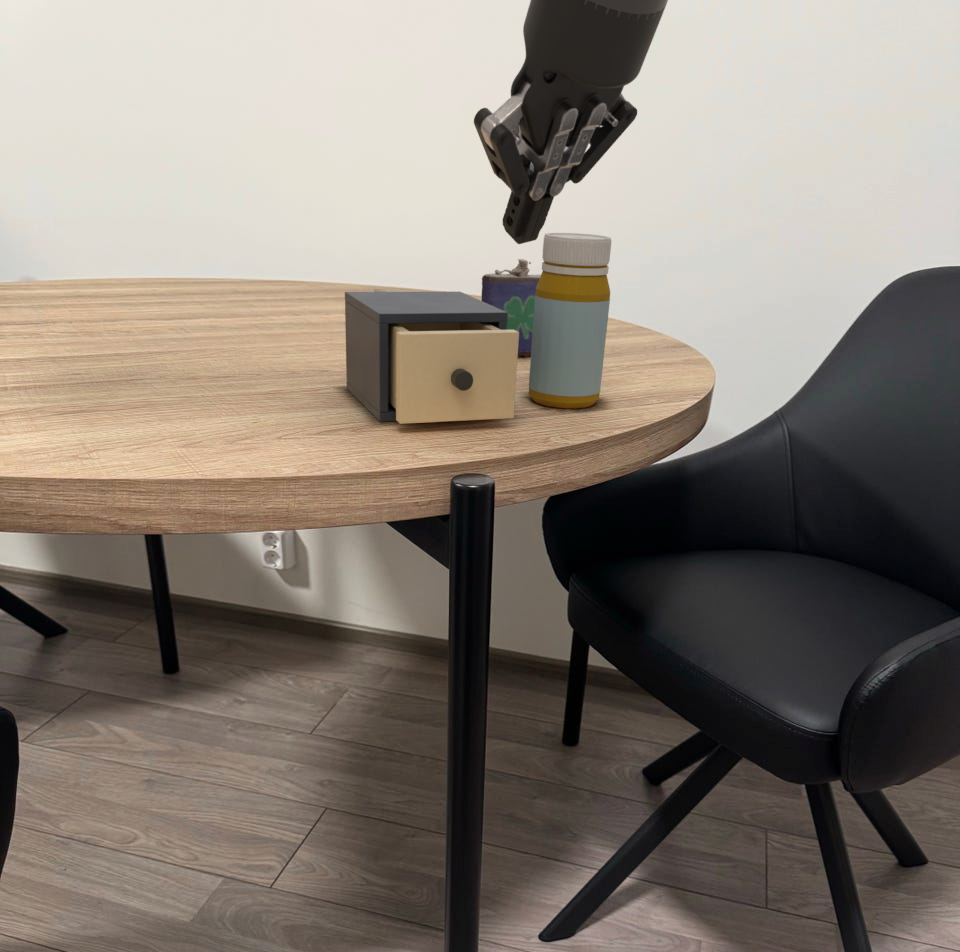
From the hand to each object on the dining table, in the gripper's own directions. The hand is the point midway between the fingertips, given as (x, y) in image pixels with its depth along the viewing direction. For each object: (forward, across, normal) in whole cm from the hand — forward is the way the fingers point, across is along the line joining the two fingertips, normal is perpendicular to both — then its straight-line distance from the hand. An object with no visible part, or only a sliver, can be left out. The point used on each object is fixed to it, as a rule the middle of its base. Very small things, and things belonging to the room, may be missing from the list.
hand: (518, 235), depth 67 cm
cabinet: (+24, -2, -7) cm, 25 cm away
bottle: (+22, -14, 0) cm, 27 cm away
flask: (+34, -25, -16) cm, 45 cm away
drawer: (+20, -1, -3) cm, 20 cm away
